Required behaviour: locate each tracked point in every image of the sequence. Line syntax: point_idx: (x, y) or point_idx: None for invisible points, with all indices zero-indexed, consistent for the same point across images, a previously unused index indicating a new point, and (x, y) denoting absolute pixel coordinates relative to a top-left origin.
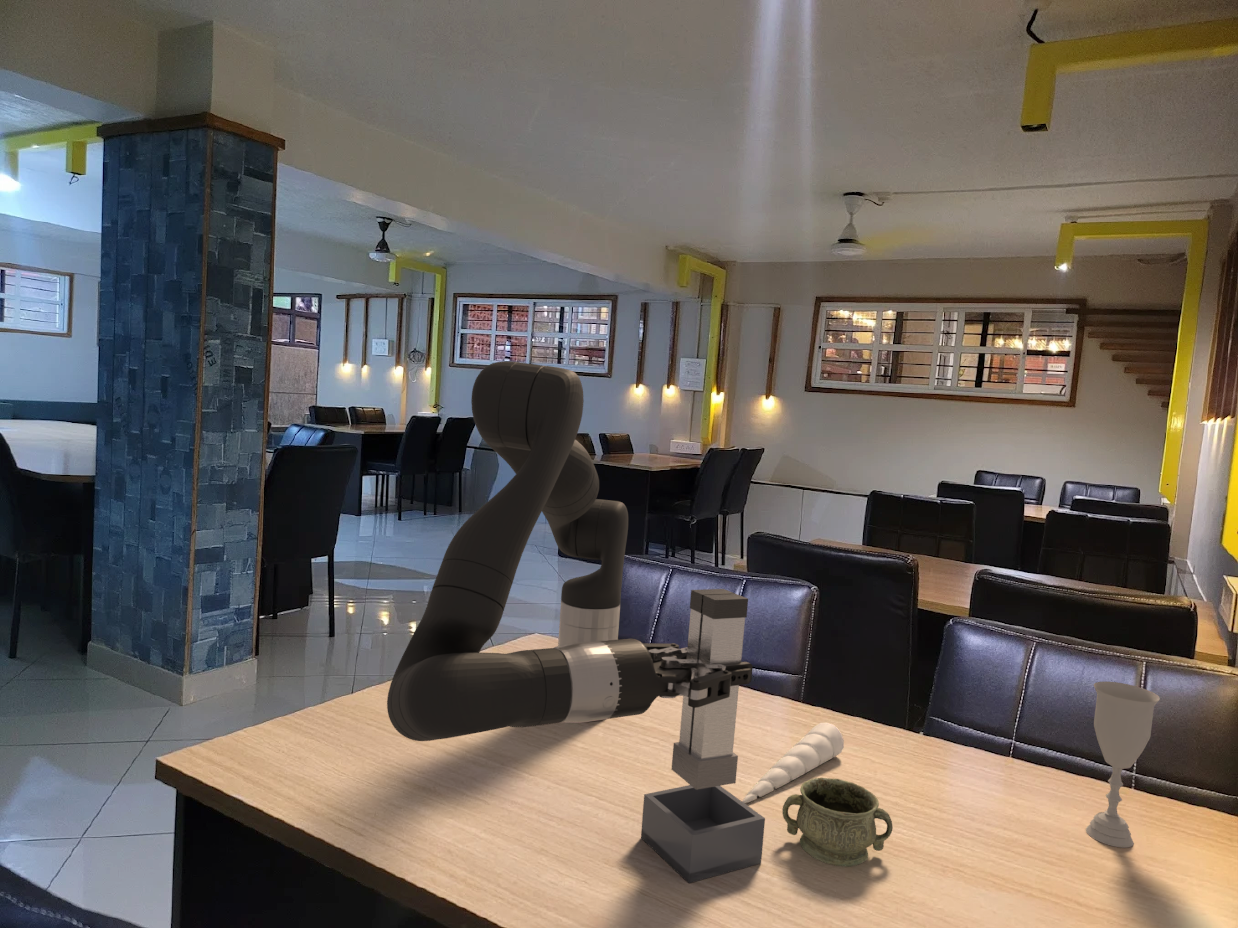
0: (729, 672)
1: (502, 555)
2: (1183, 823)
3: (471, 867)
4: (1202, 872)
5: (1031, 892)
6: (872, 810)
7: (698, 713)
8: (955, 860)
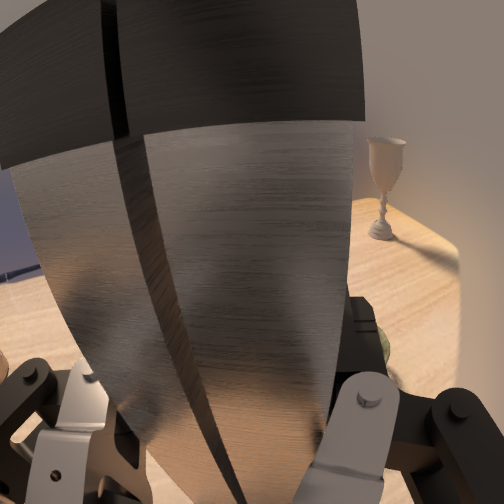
0: (462, 396)
1: None
2: (376, 208)
3: None
4: (420, 229)
5: (432, 300)
6: (385, 336)
7: (269, 501)
8: (387, 314)
